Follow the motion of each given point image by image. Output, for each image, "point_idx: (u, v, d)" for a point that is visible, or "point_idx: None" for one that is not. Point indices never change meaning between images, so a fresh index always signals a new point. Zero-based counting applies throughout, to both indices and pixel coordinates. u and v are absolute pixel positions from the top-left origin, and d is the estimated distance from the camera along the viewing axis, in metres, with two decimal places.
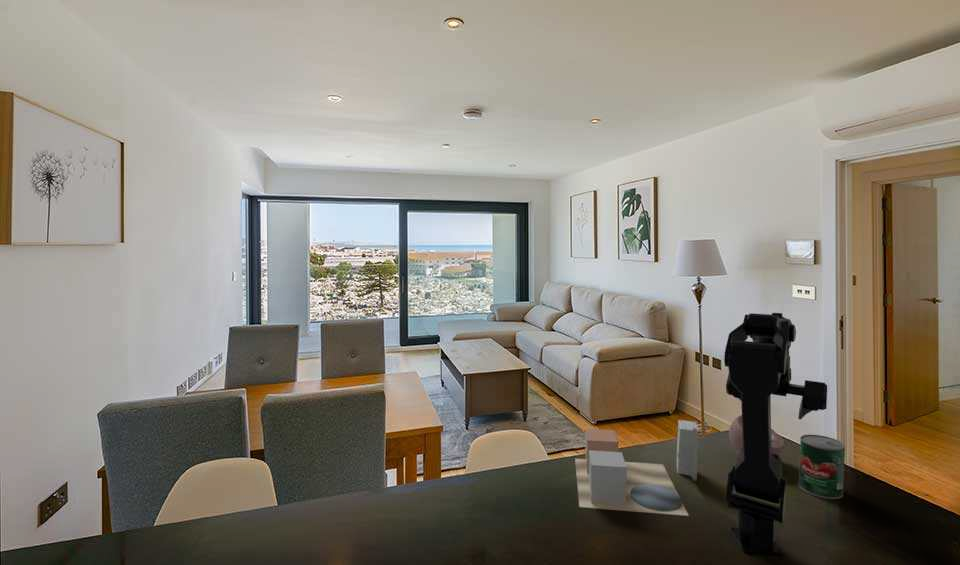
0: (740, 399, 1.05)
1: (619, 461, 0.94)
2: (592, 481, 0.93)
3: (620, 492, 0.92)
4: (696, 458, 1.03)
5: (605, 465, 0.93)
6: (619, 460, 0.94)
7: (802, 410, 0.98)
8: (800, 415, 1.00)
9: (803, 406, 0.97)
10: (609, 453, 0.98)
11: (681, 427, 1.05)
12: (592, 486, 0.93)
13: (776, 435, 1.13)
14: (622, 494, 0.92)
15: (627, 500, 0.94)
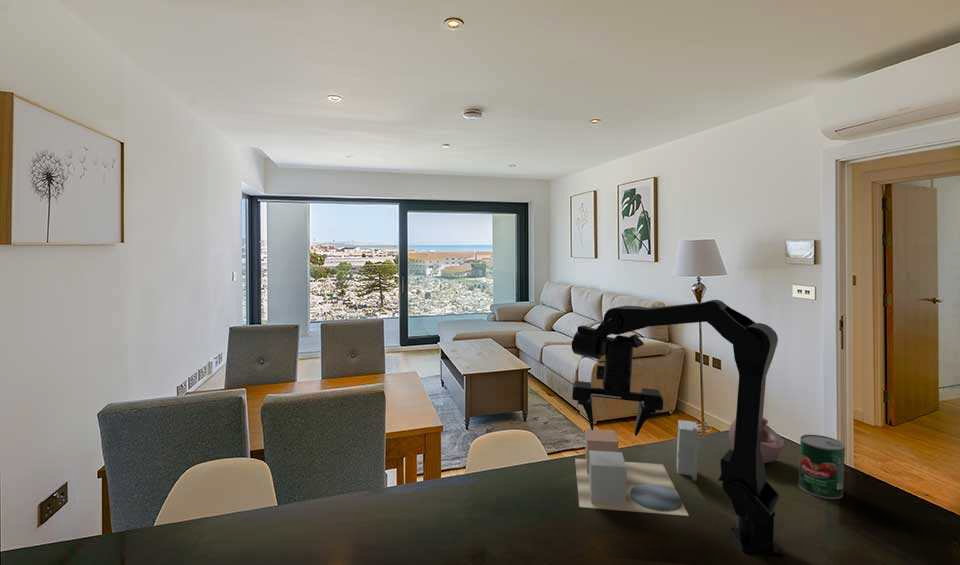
0: (584, 407, 0.98)
1: (619, 461, 0.94)
2: (592, 481, 0.93)
3: (620, 492, 0.92)
4: (696, 458, 1.03)
5: (605, 465, 0.93)
6: (619, 460, 0.94)
7: (641, 415, 0.95)
8: (637, 427, 0.97)
9: (643, 409, 0.95)
10: (609, 453, 0.98)
11: (681, 427, 1.05)
12: (592, 486, 0.93)
13: (776, 435, 1.13)
14: (622, 494, 0.92)
15: (627, 500, 0.94)
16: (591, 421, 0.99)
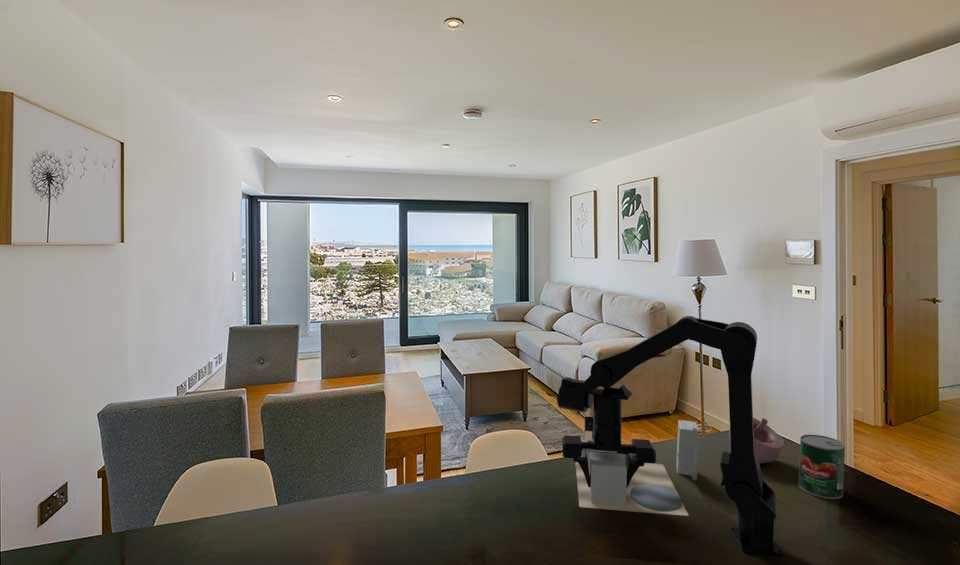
0: (580, 464, 0.94)
1: (619, 461, 0.94)
2: (592, 481, 0.93)
3: (620, 492, 0.92)
4: (696, 458, 1.03)
5: (605, 465, 0.93)
6: (619, 460, 0.94)
7: (630, 469, 0.92)
8: None
9: (631, 462, 0.92)
10: (609, 453, 0.98)
11: (681, 427, 1.05)
12: (592, 486, 0.93)
13: (776, 435, 1.13)
14: (622, 494, 0.92)
15: (627, 500, 0.94)
16: (588, 478, 0.95)
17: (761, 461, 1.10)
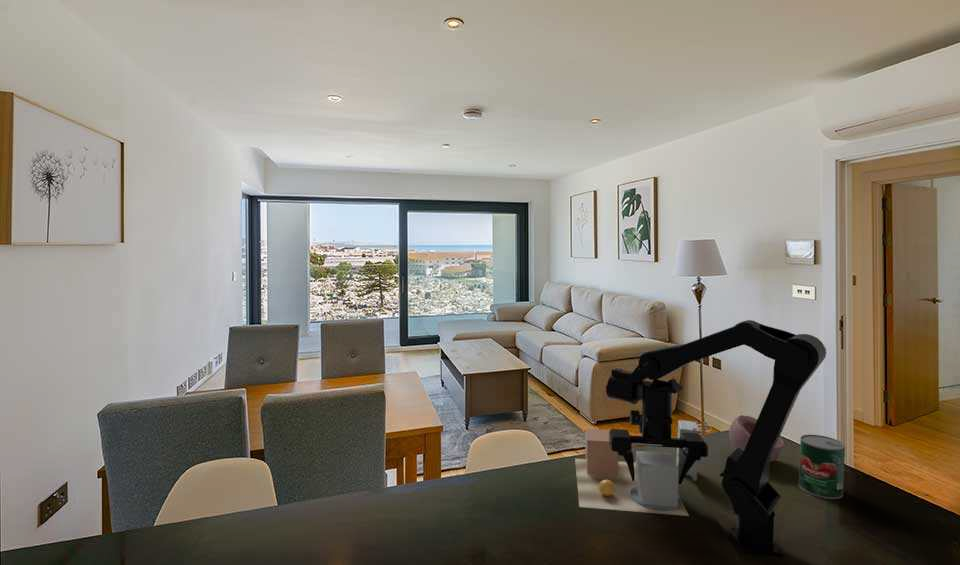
0: (625, 458, 0.93)
1: (669, 462, 0.93)
2: (643, 482, 0.92)
3: (671, 493, 0.91)
4: None
5: (656, 466, 0.91)
6: (669, 461, 0.93)
7: (686, 463, 0.91)
8: (682, 475, 0.92)
9: (687, 456, 0.91)
10: (657, 454, 0.97)
11: (681, 427, 1.05)
12: (643, 487, 0.92)
13: None
14: (673, 495, 0.91)
15: (627, 500, 0.94)
16: (632, 472, 0.94)
17: None
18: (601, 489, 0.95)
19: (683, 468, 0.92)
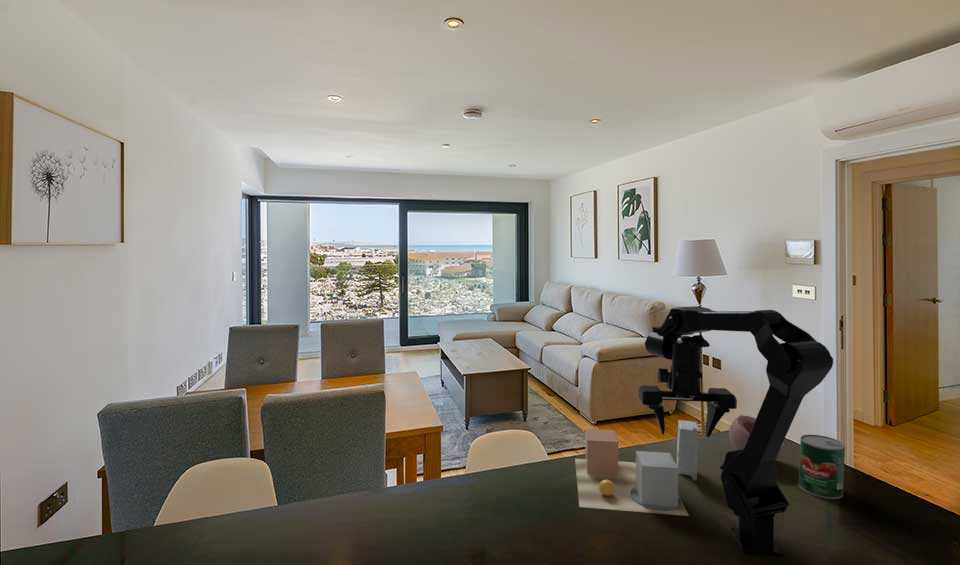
0: (656, 411, 0.96)
1: (669, 462, 0.93)
2: (643, 482, 0.92)
3: (671, 493, 0.91)
4: (696, 458, 1.03)
5: (656, 466, 0.91)
6: (669, 461, 0.93)
7: (715, 415, 0.94)
8: (711, 427, 0.96)
9: (716, 409, 0.94)
10: (657, 454, 0.97)
11: (681, 427, 1.05)
12: (643, 487, 0.92)
13: None
14: (673, 495, 0.91)
15: (627, 500, 0.94)
16: (662, 425, 0.97)
17: None
18: (601, 489, 0.95)
19: (712, 420, 0.95)
